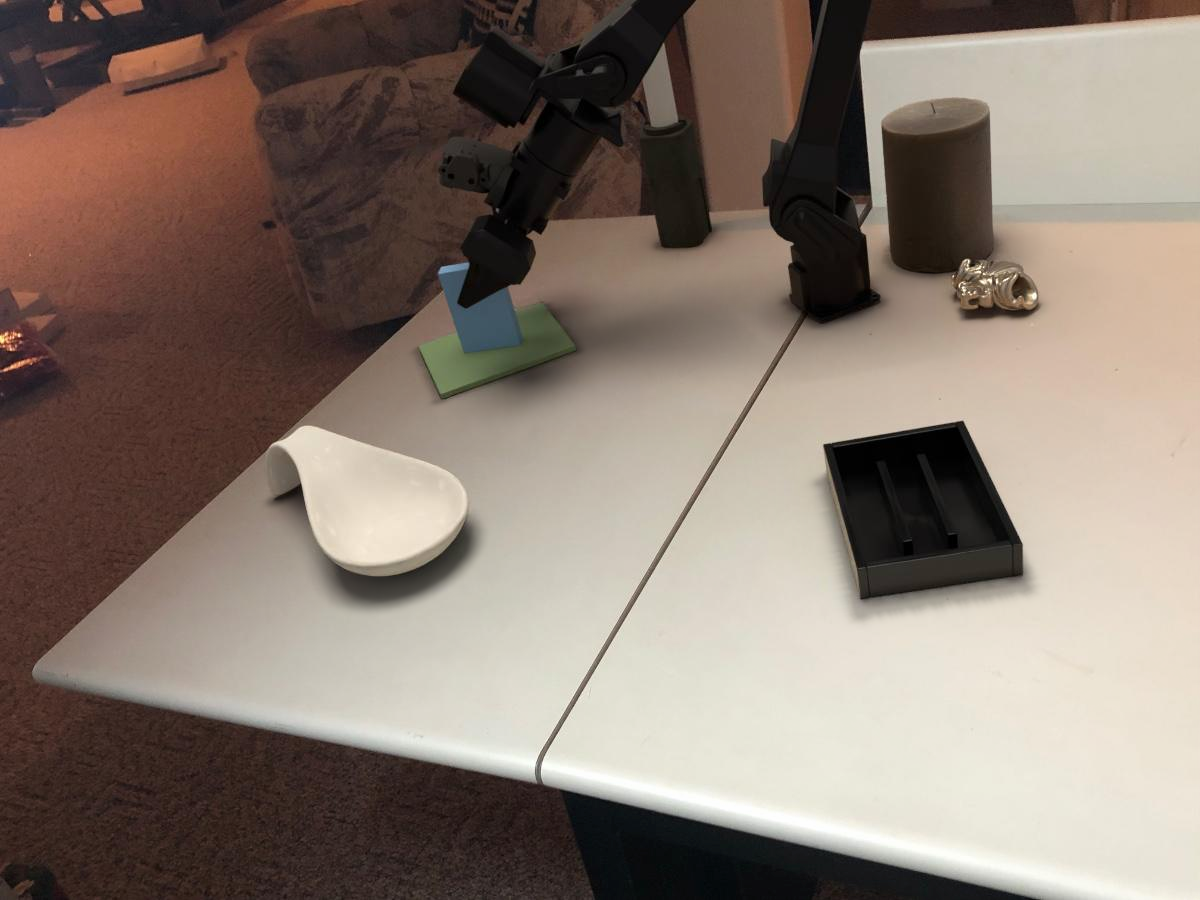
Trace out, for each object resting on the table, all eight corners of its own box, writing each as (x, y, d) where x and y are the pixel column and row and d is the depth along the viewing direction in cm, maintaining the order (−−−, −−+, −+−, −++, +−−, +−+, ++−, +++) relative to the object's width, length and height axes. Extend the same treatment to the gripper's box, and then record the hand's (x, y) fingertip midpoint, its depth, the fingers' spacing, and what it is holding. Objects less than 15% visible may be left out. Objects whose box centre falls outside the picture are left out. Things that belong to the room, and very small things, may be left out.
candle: (674, 227, 126) (631, 5, 112) (715, 227, 124) (675, 0, 110) (657, 247, 122) (610, 20, 109) (699, 247, 120) (656, 15, 106)
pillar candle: (930, 283, 102) (921, 128, 94) (871, 252, 110) (858, 107, 102) (1016, 248, 104) (1014, 93, 96) (952, 220, 112) (945, 75, 104)
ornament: (928, 307, 98) (926, 271, 96) (980, 277, 101) (979, 241, 99) (1000, 332, 92) (999, 294, 90) (1053, 299, 95) (1054, 261, 93)
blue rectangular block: (523, 337, 110) (499, 257, 105) (520, 345, 109) (496, 264, 104) (467, 345, 111) (441, 266, 106) (464, 353, 110) (437, 273, 105)
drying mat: (543, 306, 116) (542, 301, 116) (576, 350, 106) (575, 345, 106) (419, 350, 114) (418, 345, 114) (442, 399, 104) (440, 394, 104)
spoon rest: (508, 530, 84) (483, 456, 80) (391, 622, 78) (357, 546, 74) (344, 451, 100) (316, 386, 96) (236, 522, 94) (201, 455, 90)
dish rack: (827, 482, 81) (822, 443, 79) (965, 459, 79) (963, 420, 77) (861, 610, 69) (857, 569, 67) (1023, 586, 68) (1023, 544, 66)
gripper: (493, 75, 104) (421, 202, 112) (451, 141, 88) (371, 283, 97) (591, 139, 106) (514, 259, 115) (567, 214, 91) (480, 347, 99)
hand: (471, 283), depth 106 cm, fingers open, 9 cm apart
